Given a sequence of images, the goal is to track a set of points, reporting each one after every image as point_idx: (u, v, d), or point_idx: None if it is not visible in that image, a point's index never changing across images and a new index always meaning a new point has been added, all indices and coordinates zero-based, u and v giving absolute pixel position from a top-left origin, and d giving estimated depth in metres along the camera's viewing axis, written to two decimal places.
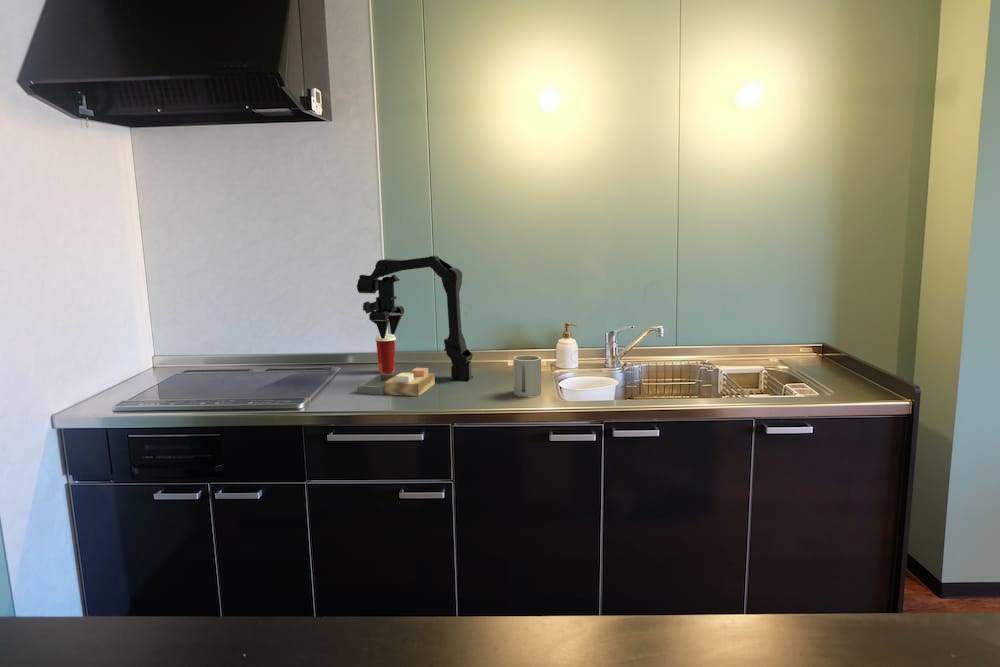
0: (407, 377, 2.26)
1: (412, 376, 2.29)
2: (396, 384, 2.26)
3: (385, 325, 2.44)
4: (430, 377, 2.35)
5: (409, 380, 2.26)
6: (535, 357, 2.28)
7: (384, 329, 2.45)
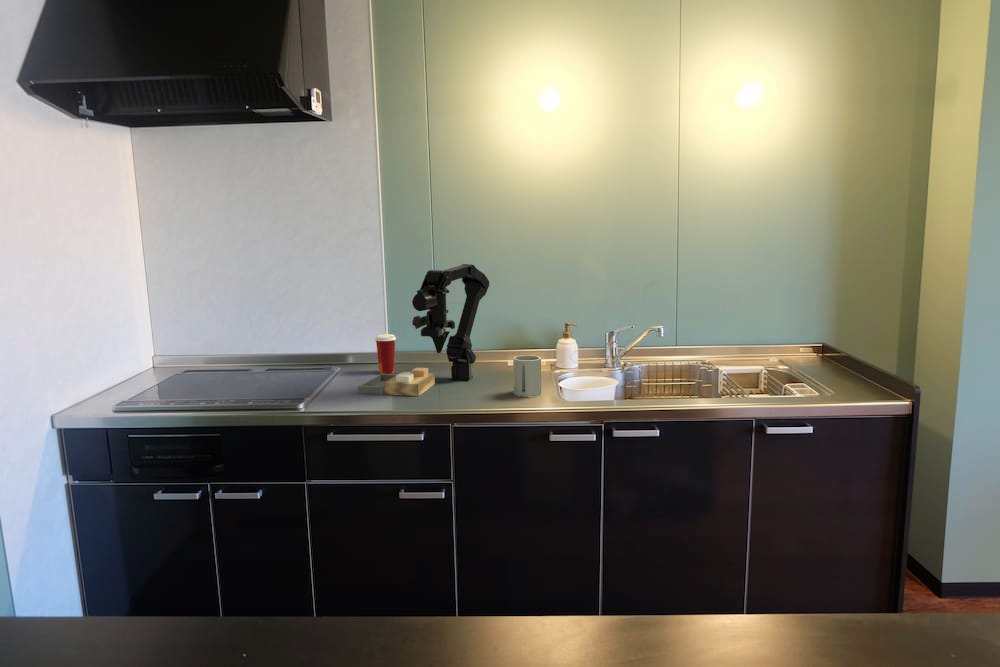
0: (407, 377, 2.26)
1: (412, 376, 2.29)
2: (396, 384, 2.26)
3: (442, 339, 2.31)
4: (430, 377, 2.35)
5: (409, 380, 2.26)
6: (535, 357, 2.28)
7: (440, 343, 2.31)
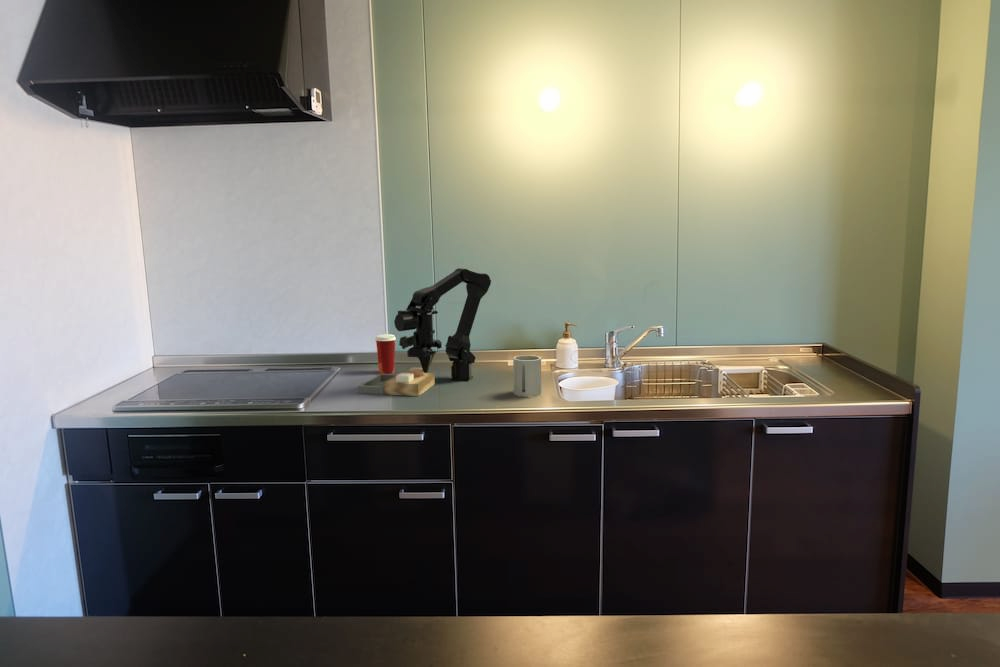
0: (407, 377, 2.26)
1: (412, 376, 2.29)
2: (396, 384, 2.26)
3: (428, 359, 2.33)
4: (430, 377, 2.35)
5: (409, 380, 2.26)
6: (535, 357, 2.28)
7: (427, 363, 2.34)
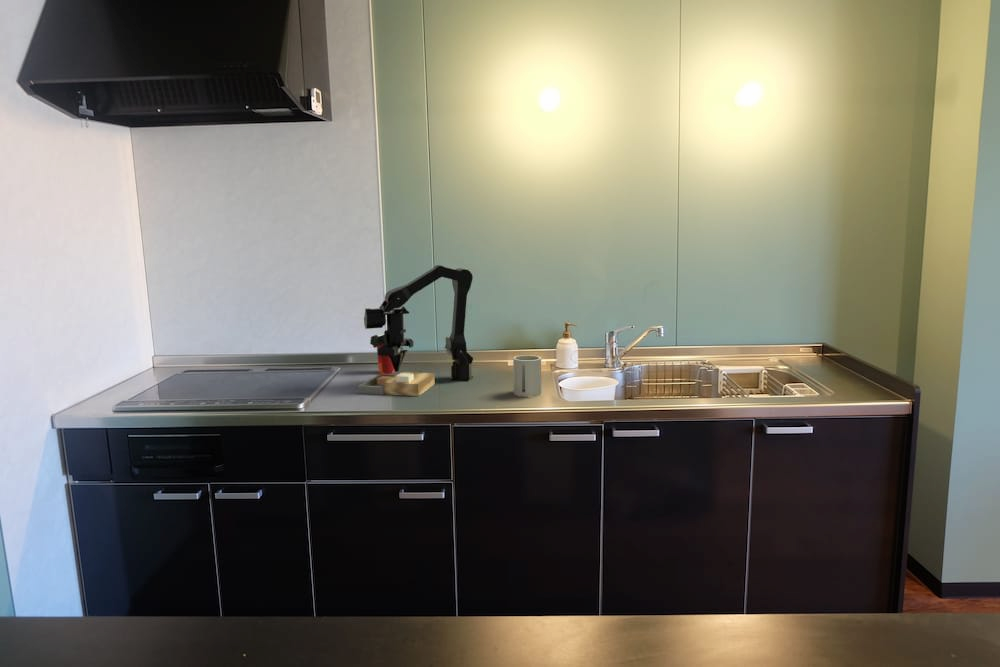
0: (407, 377, 2.26)
1: (412, 376, 2.29)
2: (396, 384, 2.26)
3: (399, 358, 2.35)
4: (430, 377, 2.35)
5: (409, 380, 2.26)
6: (535, 357, 2.28)
7: (398, 362, 2.36)
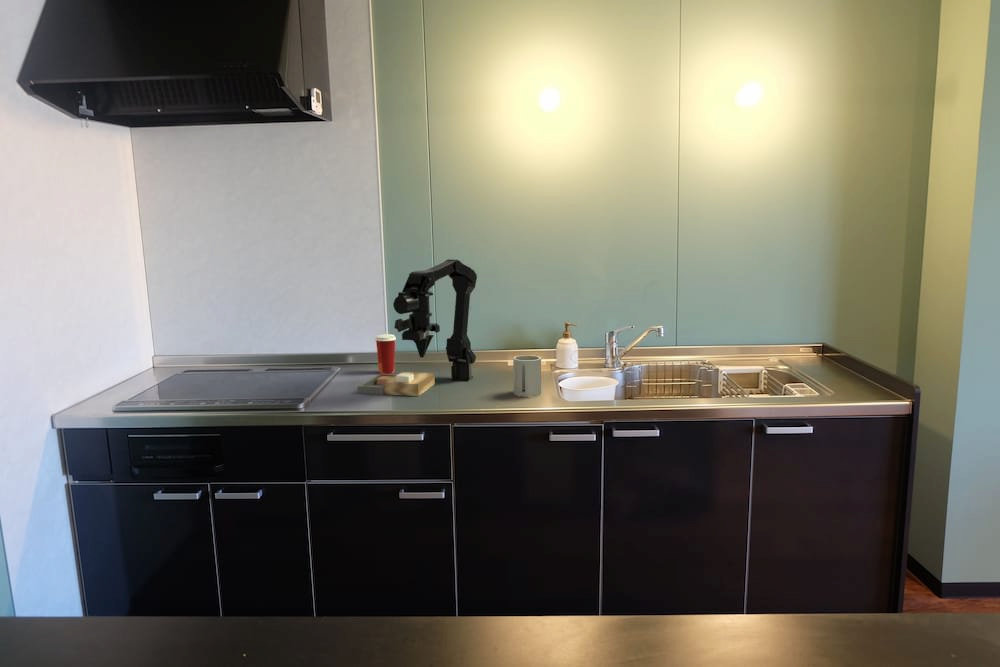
0: (407, 377, 2.26)
1: (412, 376, 2.29)
2: (396, 384, 2.26)
3: (424, 343, 2.23)
4: (430, 377, 2.35)
5: (409, 380, 2.26)
6: (535, 357, 2.28)
7: (423, 347, 2.24)
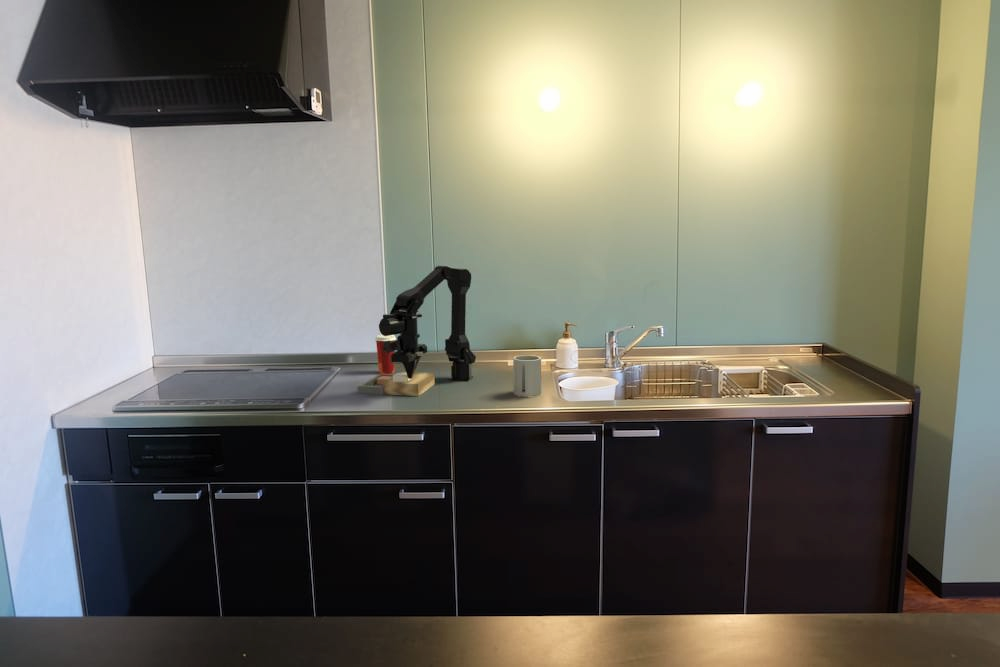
0: (404, 377, 2.26)
1: None
2: (396, 384, 2.26)
3: (413, 364, 2.25)
4: (430, 377, 2.35)
5: (406, 380, 2.27)
6: (535, 357, 2.28)
7: (412, 369, 2.26)
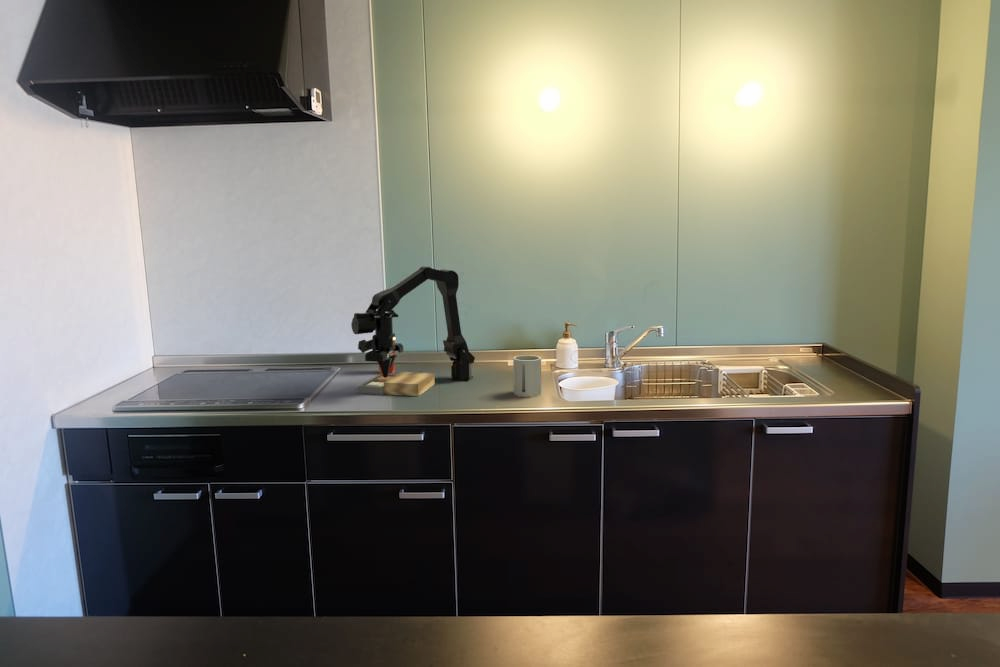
0: None
1: None
2: (396, 384, 2.26)
3: (388, 364, 2.27)
4: (430, 377, 2.35)
5: None
6: (535, 357, 2.28)
7: (387, 368, 2.28)
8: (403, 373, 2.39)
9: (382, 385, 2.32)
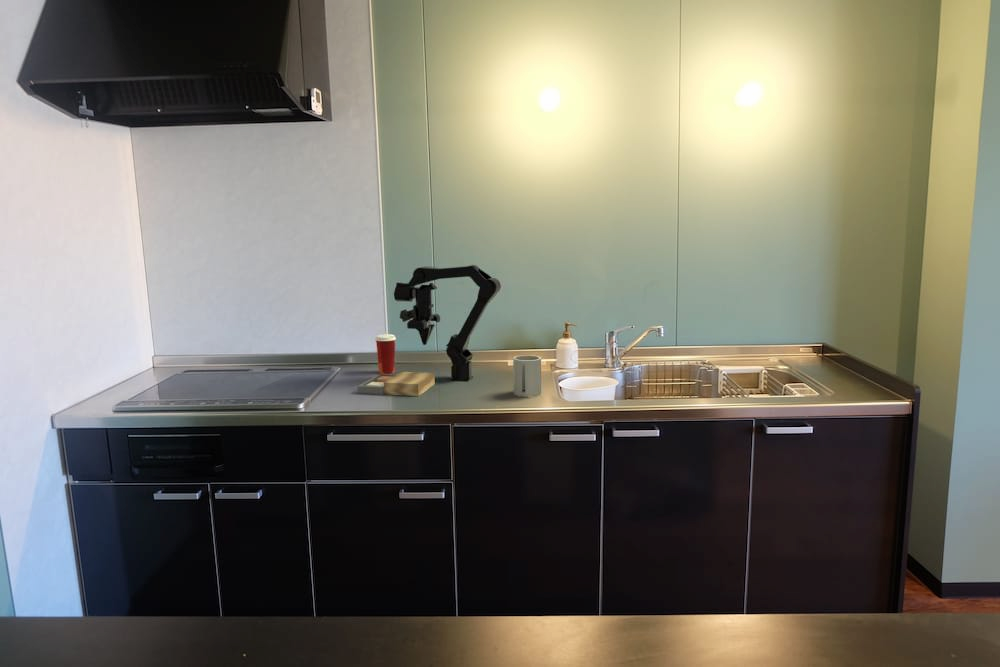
0: None
1: None
2: (396, 384, 2.26)
3: (427, 332, 2.46)
4: (430, 377, 2.35)
5: None
6: (535, 357, 2.28)
7: (426, 335, 2.47)
8: (403, 373, 2.39)
9: (382, 385, 2.32)
